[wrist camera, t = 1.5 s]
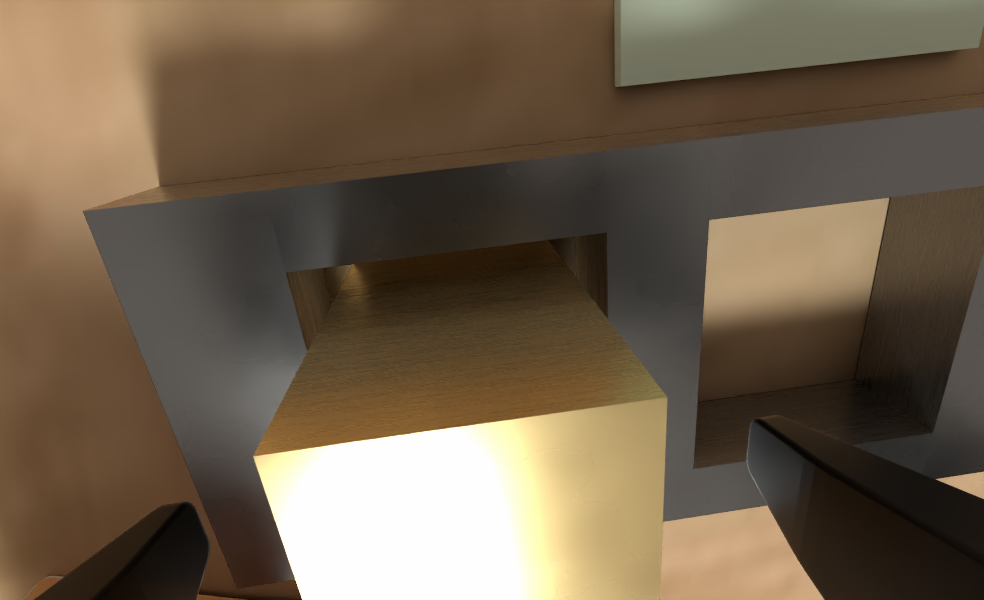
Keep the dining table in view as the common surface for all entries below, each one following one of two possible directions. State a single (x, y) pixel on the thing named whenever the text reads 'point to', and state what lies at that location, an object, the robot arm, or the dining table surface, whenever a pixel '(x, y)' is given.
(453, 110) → the dining table surface
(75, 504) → the dining table surface
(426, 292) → the block
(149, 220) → the grey flat rectangular frame
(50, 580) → the small box
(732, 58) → the mat
